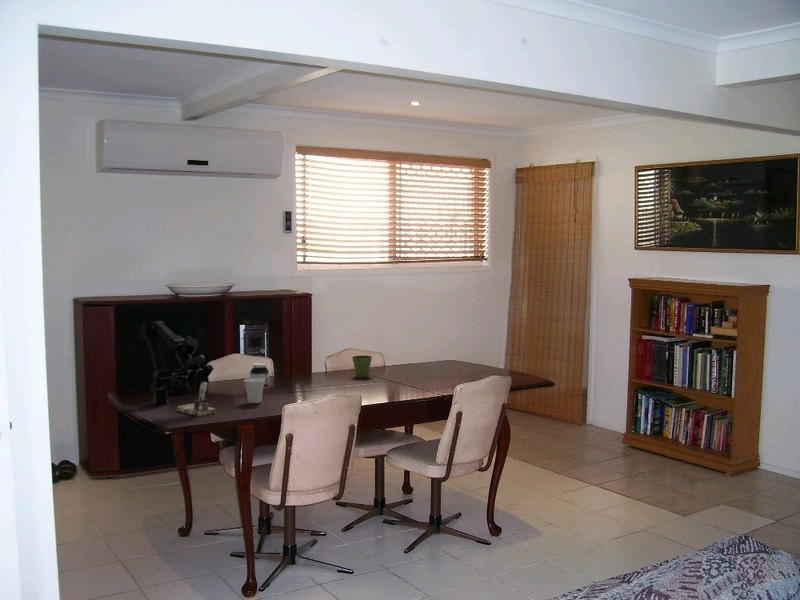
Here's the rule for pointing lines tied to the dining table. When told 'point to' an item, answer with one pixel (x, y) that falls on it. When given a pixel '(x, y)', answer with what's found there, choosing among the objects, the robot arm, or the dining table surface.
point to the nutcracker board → (197, 408)
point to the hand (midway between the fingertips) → (201, 387)
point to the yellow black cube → (184, 385)
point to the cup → (254, 389)
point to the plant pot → (362, 365)
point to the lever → (202, 393)
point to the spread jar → (260, 372)
